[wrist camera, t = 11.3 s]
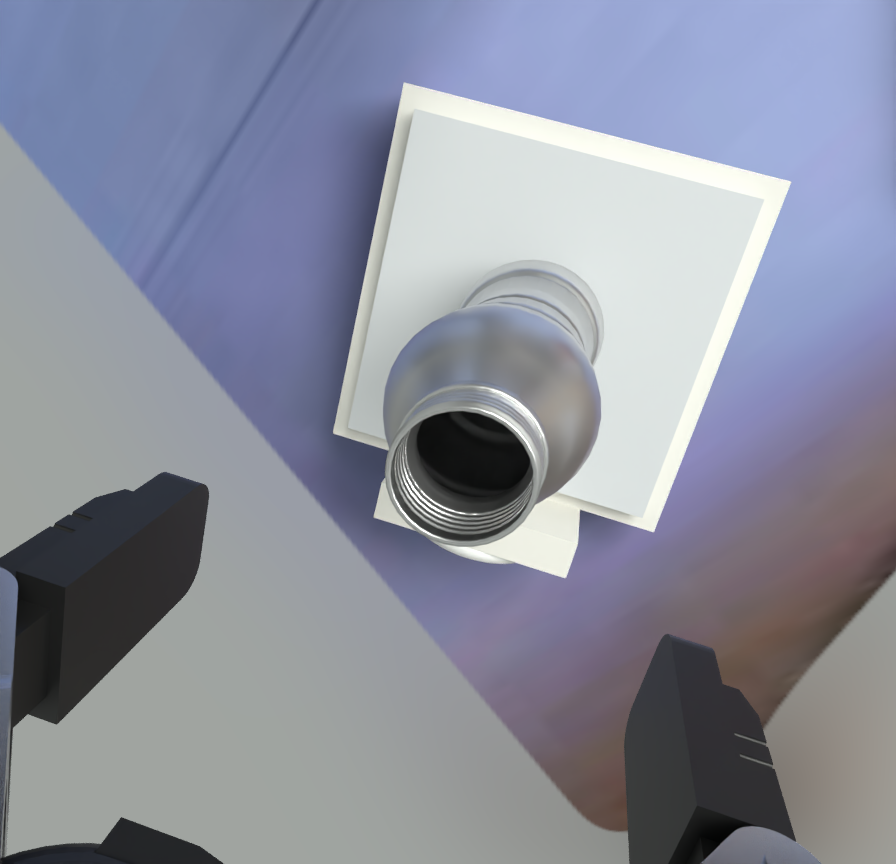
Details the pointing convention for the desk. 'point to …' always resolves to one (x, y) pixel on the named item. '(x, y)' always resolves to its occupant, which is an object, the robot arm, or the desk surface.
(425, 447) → the silver metal bottle
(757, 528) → the desk surface
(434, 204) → the plate
